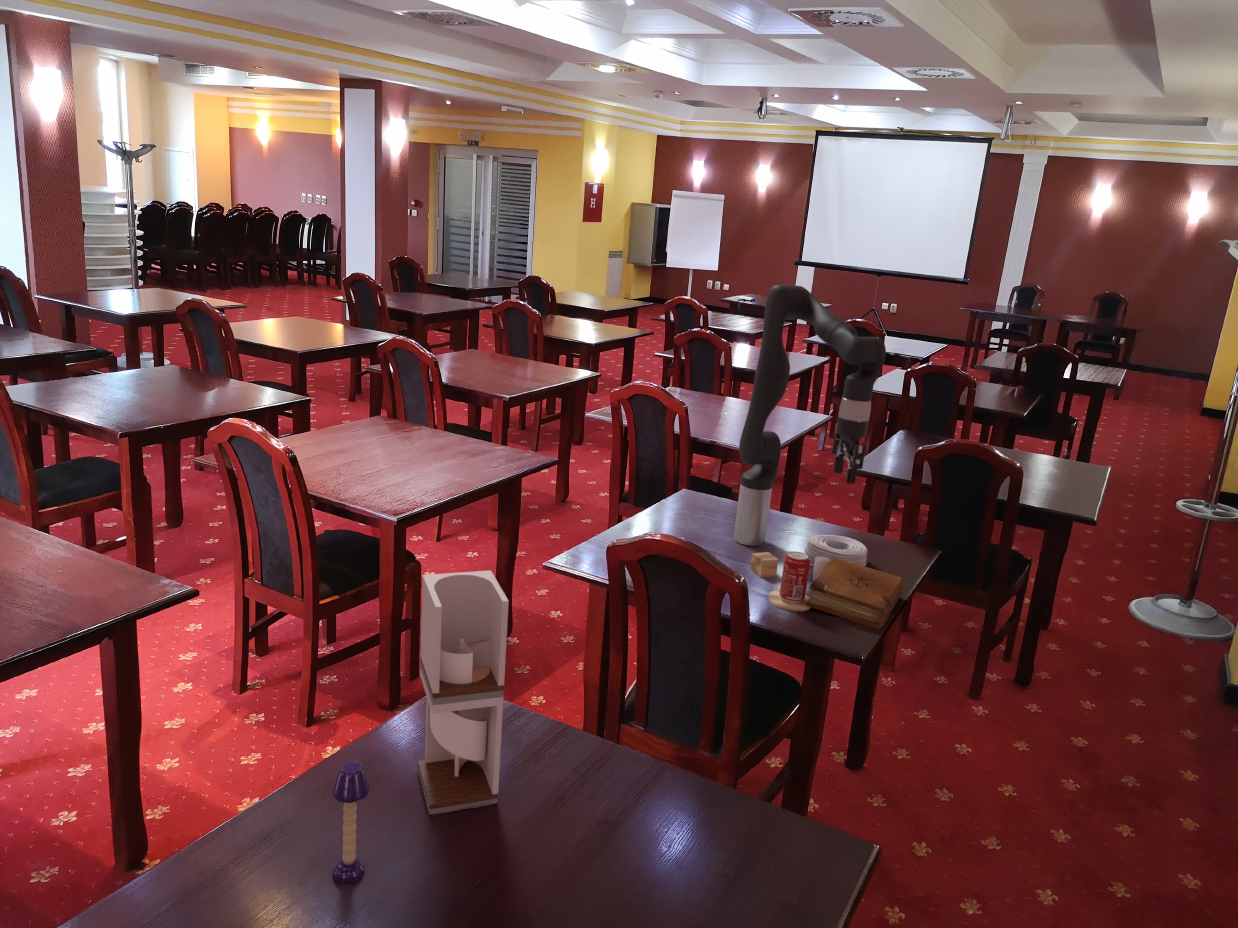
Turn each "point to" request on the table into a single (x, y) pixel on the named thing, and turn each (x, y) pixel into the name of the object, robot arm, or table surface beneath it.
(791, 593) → the beverage can
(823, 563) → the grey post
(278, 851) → the table surface
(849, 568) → the diary
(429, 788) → the display case
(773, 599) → the coaster
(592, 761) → the table surface
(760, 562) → the oak block
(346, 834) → the toy lamp
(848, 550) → the cable
